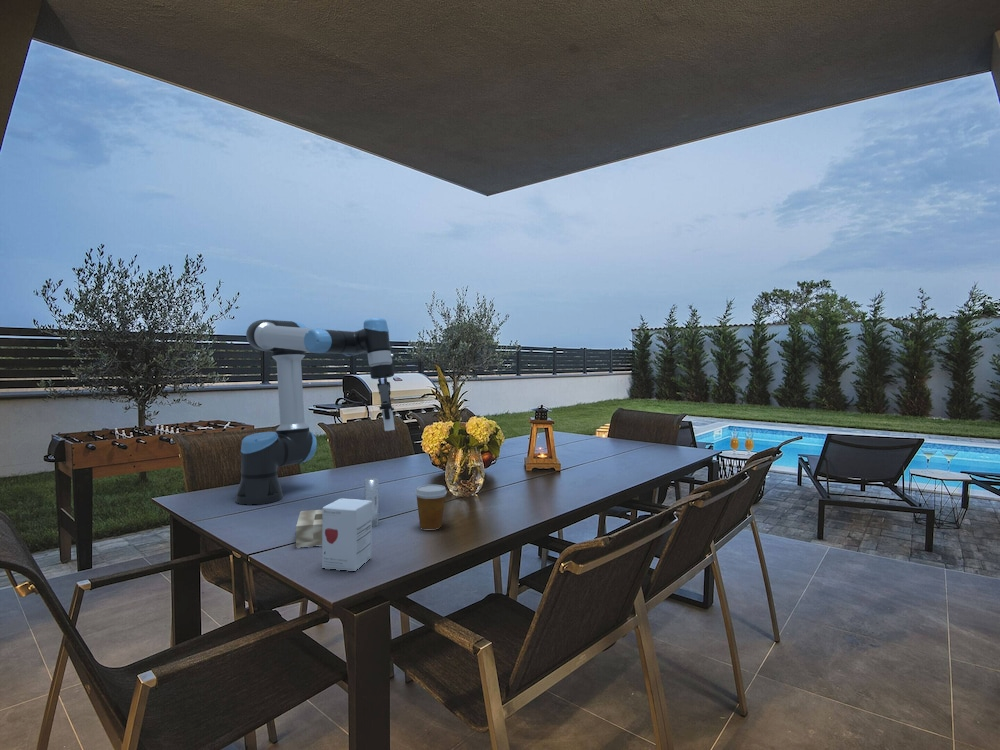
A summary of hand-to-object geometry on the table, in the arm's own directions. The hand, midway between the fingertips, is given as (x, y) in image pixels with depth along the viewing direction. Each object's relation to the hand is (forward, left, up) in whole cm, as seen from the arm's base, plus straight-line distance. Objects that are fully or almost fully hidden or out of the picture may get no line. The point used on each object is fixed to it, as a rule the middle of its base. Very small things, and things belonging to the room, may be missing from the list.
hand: (390, 430), depth 164 cm
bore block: (-19, -17, -27) cm, 37 cm away
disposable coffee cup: (+11, -16, -28) cm, 34 cm away
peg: (-6, -9, -27) cm, 29 cm away
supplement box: (-13, -38, -28) cm, 49 cm away
